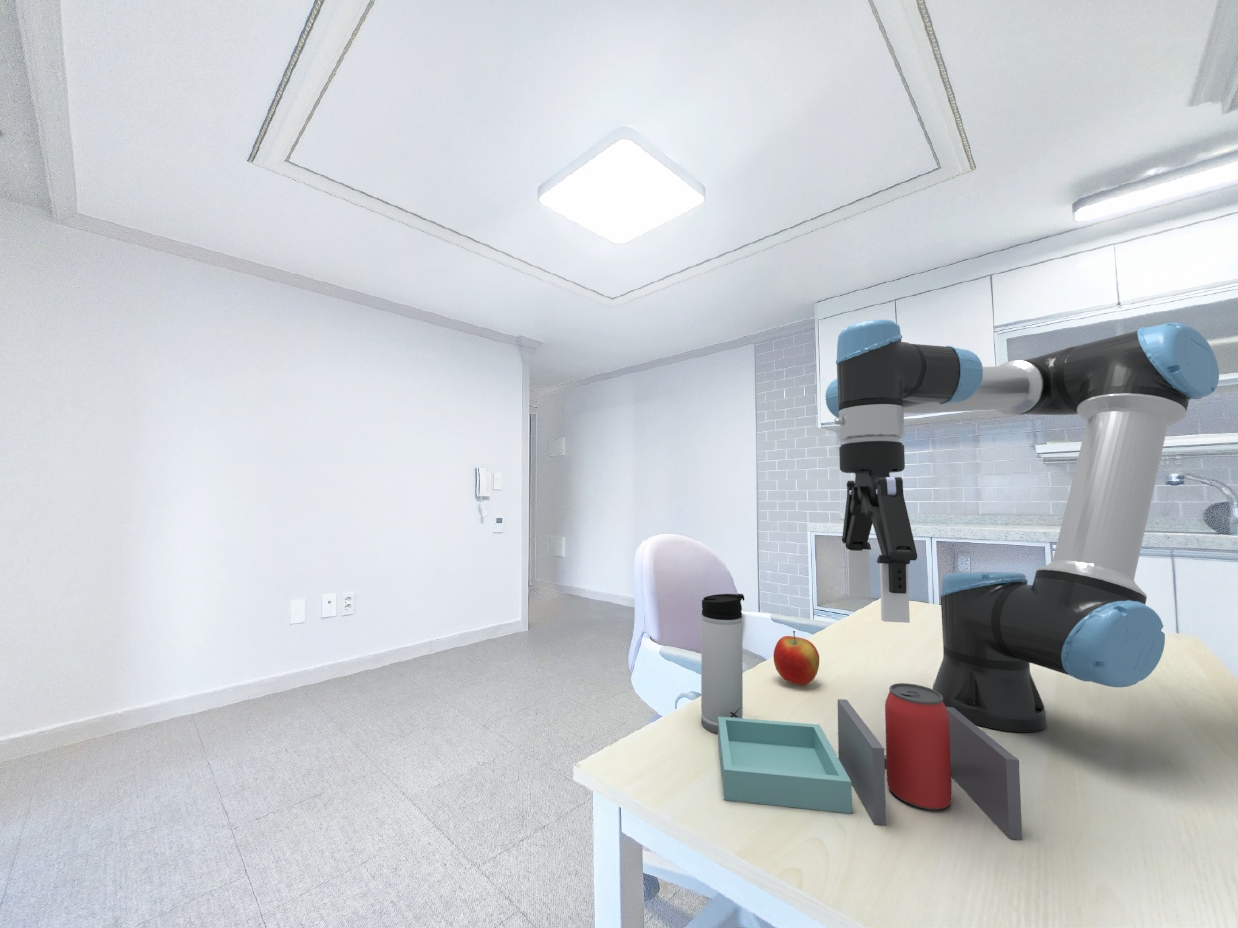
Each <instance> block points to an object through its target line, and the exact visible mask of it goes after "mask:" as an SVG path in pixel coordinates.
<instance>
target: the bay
mask: <svg viewBox="0 0 1238 928" xmlns="http://www.w3.org/2000/svg"><path fill="white" fill-rule="evenodd" d="M946 709H947V712H948V716H949V730H950V761H951V779H953V780H954V781H955V782H956V783H957V784H958V786H959V787H961V789H963V791H964V792H965V793H966V794H967V795H968V796H969V797H970V798H971V799H972V801H974V802H975V803H976V804H977V806H978V807H979V808H980V809H981V810H982V811H983V812H984V813H985V814H986V815H987V816H988V818H989V819H990V820H991V821H992V822H993V823H994V824H995V825H996V826H997V827H998V828H999V829H1000V830H1001V832H1002V833H1003V834H1004V835H1005V836H1006V837H1007V838H1008V839H1009V840H1017V841H1023V829H1022V828H1023V826H1022V806H1021V805H1022V804H1021V802H1022V801H1021V782H1020V781H1021V778H1020V760H1019V758H1017V757H1016V756H1014V754H1012V753H1011V752H1009V750H1007V749H1006V748H1005V747H1003V746H1002V745H1001V744H999V742H997V741H996V740H995V739H994V738H992V737H991V736H989V734H987V733H986V732H985V731H984V730H982V729H981V728H980V727H978V726H977V724H974V723H972V722H971V721H970V720H968V719H967V718H966V717H965V716H963V715H962V714H961V713H960V712H958V711H957V710H956V709H955V708H953V707H946ZM837 745H838V746H837V747H838V750H837V751H838V755H837V757H838V759H839V761H840V762H841V764H842V766H843V768H844V769H845V771H846V773H847V775H848V777H849V778H850V780H851V786H852V787H853V789H854V790H855V793H856V795H857V796H858V798H859V800H860V801H861V803H862V805H863V807H864V809H865V811H866V812H867V814H868V816H869V818H870V819H871V821H872V823H873V825H877V826H878V825H879V826H886V825H887V817H886V815H887V813H886V812H887V811H886V809H887V808H886V774H885V773H886V769H887V767H886V754H885V747H884V746H883V745H882V744H881V742H880V741H879V740H878V738H877V737H876V735H874V733H873V732H872V730H871V729H870V728H869V726H867V724H866V723H865V722H864V720H863V719H862V717H861V716H860V715H859V713H858V712H857V711H856V709H854V707H853V706H852V705H851V703H850V702H849V701H848V699H842V698H840V699H839V698H837Z"/></svg>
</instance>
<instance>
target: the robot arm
mask: <svg viewBox="0 0 1238 928" xmlns="http://www.w3.org/2000/svg"><path fill="white" fill-rule="evenodd" d="M902 339H903V335H902V334H901V327H900V325H899V324H898V323H897V322H895V321H894V320H890V319H870V320H865V321H860V322H856V323H853V324H851V325H849V326H847V327H845V328H844V329H842V330H841V331H840V333H839V335H838V337H837V344H836V345H837V346H836V361H835V364H836V376H837V378H835V379H833V380H832V381H831V382H830V383H829V384H828V386H827V388H826V391H825V404H826V407H827V409H828V411H829V412H830V413H831V415H833V416H834V417H835V418H834V420H833V421H834V424H835V425H837V426H838V425H839V428H838V431H839V432H838V433H839V440H841V442H844V443H843V444H840V447H838V449H839V450H838V451H839V455H838V456H839V457H838V458H839V471H841V472H842V473H845V474H854V475H855V477H854V480H847V482H846V502H845V512H844V520H843V527H842V528H843V529H842V537H841V541H842V543H843V544H845V545H844V546H845V548H846V559H847V561H846V563H847V566H846V567H847V596H848V597H849V598H857V599H858V598H859V599H860V598H862V599H870V598H871V578H870V577H871V576H870V551H869V550H872V547H871V546H872V545H871V544H870V542H869V538H870V534H871V530H872V527H873V529H874V533H875V536H876V540H877V543H878V546H879V549H880V552H881V553H880V554H879V555H878V557H877V558H876V559H877V560H876V563H877V564H879V582H880V615H881V616H880V617H881V621H882V622H884V623H885V622H886V623H906V624H908V623H911V621H910V594H909V593H910V592H909V591H910V590H909V588H910V587H909V565H910V563H911V561H917V559H918V553H917V548H916V544H915V539H914V535H913V531H912V527H911V523H910V517H909V513H908V509H907V504H906V500H905V496H904V494H905V493H904V480H903V478H902V477H899V476H891V473H893V474H894V473H900V472H902V471H904V470H905V467H906V464H905V463H906V462H905V445H904V444H903V442H902V441H900V440H901V439H903V438H904V437H905V415H906V414H908V415H909V414H931V413H932V414H933V413H951V412H952V413H953V412H955V413H956V412H975V411H976V412H979V411H997V412H998V413H1001V414H1004V415H1009V416H1011V415H1012V416H1013V415H1014V416H1015V415H1037V416H1038V415H1039V416H1042V415H1043V416H1049V415H1050V416H1072V415H1073V416H1074V415H1078V416H1079V417H1081V418H1082V419H1083V420H1085V421H1086V425H1085V428H1084V432H1083V437H1082V441H1081V443H1080V444H1081V445H1080V449H1079V453H1078V456H1077V460H1076V464H1075V465H1076V466H1075V469H1074V473H1073V477H1072V479H1071V480H1072V481H1071V485H1070V489H1069V492H1068V497H1067V501H1066V506H1065V509H1064V514H1063V517H1062V522H1061V524H1060V525H1061V526H1060V529H1059V534H1058V538H1057V540H1056V541H1057V542H1056V546H1055V549H1054V552H1053V553H1054V555H1053V557H1052V561H1051V562H1050V563H1048V564H1046V565H1044V566H1041V567H1038V568H1037V569H1036V571H1035V576H1034V579H1033V582H1032V584H1028V582H1029V581H1028V579H1027V577H1026V575H1025V574H1024V573H1022V572H1014V571H1013V572H1011V571H1010V572H1007V571H1005V572H1003V571H992V572H991V571H982V572H981V571H976V572H975V571H974V572H973V571H967V572H966V571H965V572H964V571H963V572H949V573H947V574H945V575H944V576H943V578H942V580H941V591H940V593H941V594H940V596H939V597H940V605H941V606H940V607H941V623H942V624H941V627H942V629H941V630H942V645H943V647H942V649H943V650H942V651H943V657H942V660H941V664H940V666H939V669H938V671H937V674H936V678H935V679H934V683H933V685H932V689H933V690H935V691H937V692H938V693H940V694H941V695H942V697H943V703H944V705H945V707H953V708H955V709H956V710H957V711H958V712H960V713H961V714H962V715H963V716H965V717H966V718H967V719H968V720H970V721H971V722H972V723H973V724H975V725H976V726H977V725H978V726H981V727H985V728H989V729H994V730H1000V731H1004V732H1005V731H1006V732H1014V733H1033V732H1034V733H1035V732H1040V731H1043V730H1044V729H1046V728H1047V726H1048V725H1047V724H1048V723H1047V722H1048V720H1047V711H1046V707H1045V705H1044V702H1043V700H1042V698H1041V695H1040V693H1039V691H1038V688H1037V686H1036V683H1035V680H1034V678H1033V676H1032V674H1031V666H1030V665H1031V664H1033V665H1037V666H1039V667H1042V668H1046V669H1049V670H1052V671H1055V672H1058V673H1062V674H1065V675H1068V676H1070V677H1072V678H1074V679H1077V680H1080V681H1083V682H1089V683H1090V682H1092V683H1094V684H1099V685H1103V686H1106V687H1110V688H1128V687H1131V686H1135V685H1136V684H1137V683H1139V682H1141V681H1143V680H1146V679H1147V678H1148V677H1149V676H1150V675H1151V674H1152V673H1153V671H1154V670H1155V669H1156V668H1157V666H1158V664H1159V662H1160V660H1161V658H1162V656H1163V652H1164V650H1165V649H1164V648H1165V644H1166V634H1165V632H1163V631H1162V630H1163V628H1164V624H1163V621H1162V619H1161V617H1160V615H1159V614H1158V613H1157V612H1156V611H1155V610H1154V609H1153V608H1152V607H1150V606H1148V605H1147V604H1146V603H1147V599H1148V595H1147V593H1145V592H1144V591H1143V590H1142V588H1140V587H1139V585H1138V584H1137V583H1136V582H1135V577H1136V572H1137V567H1138V564H1139V559H1140V554H1141V548H1142V545H1143V540H1144V535H1145V531H1146V527H1147V522H1148V517H1149V513H1150V508H1151V505H1152V504H1151V503H1152V500H1153V494H1154V490H1155V485H1156V481H1157V477H1158V476H1157V475H1158V471H1159V466H1160V462H1161V459H1162V453H1163V451H1164V450H1163V449H1164V444H1165V439H1166V436H1167V431H1168V428H1170V427H1172V426H1173V425H1177V424H1178V423H1180V422H1182V421H1184V419H1185V418H1186V416H1187V410H1188V406H1189V402H1190V401H1191V400H1200V399H1202V398H1204V397H1208V396H1210V395H1211V394H1213V392H1215V391H1216V389H1217V387H1218V386H1219V385H1218V384H1219V380H1220V371H1219V369H1220V368H1219V364H1218V361H1217V357H1216V355H1215V353H1214V350H1213V349H1212V347H1211V346H1210V343H1209V342H1208V341H1207V339H1206V337H1204V335H1202V334H1201V332H1199V331H1198V330H1197V329H1195V328H1194V327H1192V326H1191V325H1189V324H1186V323H1182V322H1166V323H1162V324H1157V325H1153V326H1150V327H1148V326H1143V327H1140V328H1139V329H1138V330H1134V331H1131V332H1128V333H1127V332H1126V333H1123V334H1118V335H1115V336H1110V337H1107V338H1103V339H1100V340H1095V341H1091V342H1087V343H1083V344H1079V345H1075V346H1071V347H1067V348H1064V349H1059V350H1056V351H1054V352H1049V353H1046V354H1043V355H1039V356H1036V357H1032V358H1028V359H1021V360H1020V359H1016V360H1015V359H1013V360H1009V361H1007V362H1006V361H1005V362H1004V363H1002V364H1000V365H999V366H983V363H982V360H981V358H980V357H979V356H978V355H977V354H976V353H974V352H973V351H970V350H969V349H964V348H959V347H954V346H953V345H945V346H941V345H929V344H919V343H909V342H905V341H902Z"/></svg>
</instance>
